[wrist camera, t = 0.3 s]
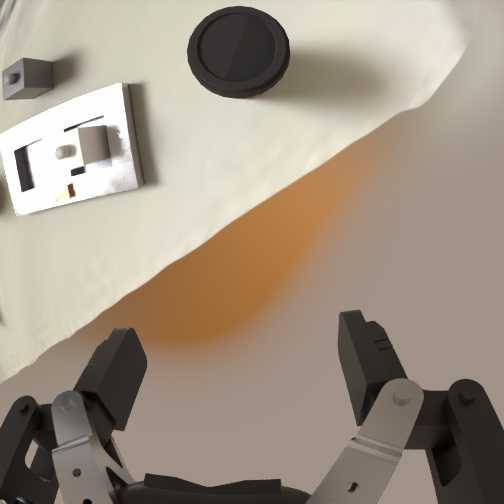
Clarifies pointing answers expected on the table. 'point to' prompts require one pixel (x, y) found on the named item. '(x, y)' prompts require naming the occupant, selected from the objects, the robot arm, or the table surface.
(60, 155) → the white plug
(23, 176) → the socket plate
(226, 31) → the coffee cup
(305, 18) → the table surface
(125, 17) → the table surface
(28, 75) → the grey plug
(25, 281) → the table surface
